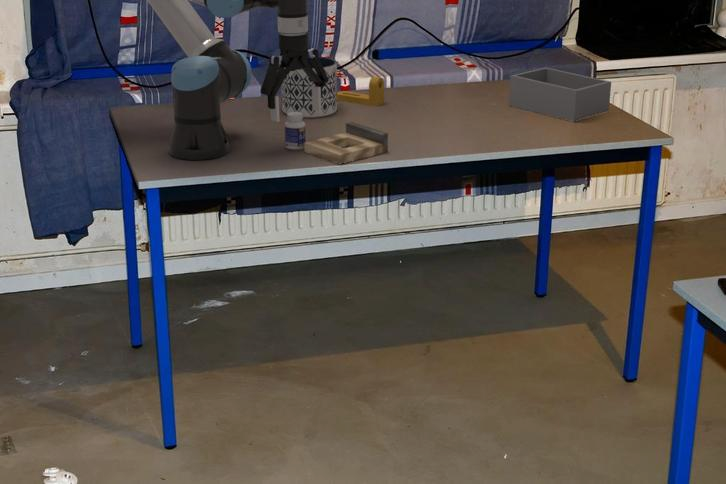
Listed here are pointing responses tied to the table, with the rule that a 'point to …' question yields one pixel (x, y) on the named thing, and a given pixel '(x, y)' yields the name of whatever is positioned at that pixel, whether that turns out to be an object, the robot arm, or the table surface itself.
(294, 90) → the planter
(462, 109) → the table surface
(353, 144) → the jig
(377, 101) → the bracket
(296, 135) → the pill bottle
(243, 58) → the robot arm
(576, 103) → the open gray rectangular box
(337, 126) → the table surface
